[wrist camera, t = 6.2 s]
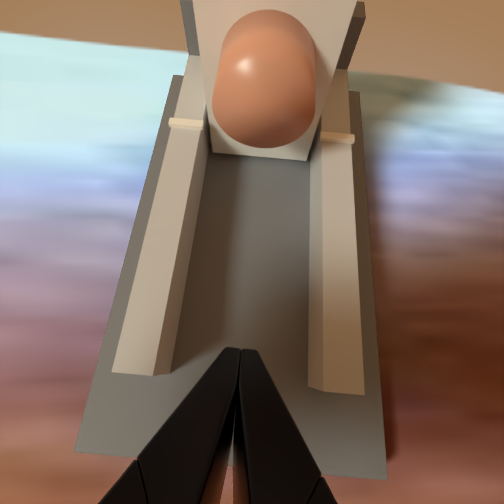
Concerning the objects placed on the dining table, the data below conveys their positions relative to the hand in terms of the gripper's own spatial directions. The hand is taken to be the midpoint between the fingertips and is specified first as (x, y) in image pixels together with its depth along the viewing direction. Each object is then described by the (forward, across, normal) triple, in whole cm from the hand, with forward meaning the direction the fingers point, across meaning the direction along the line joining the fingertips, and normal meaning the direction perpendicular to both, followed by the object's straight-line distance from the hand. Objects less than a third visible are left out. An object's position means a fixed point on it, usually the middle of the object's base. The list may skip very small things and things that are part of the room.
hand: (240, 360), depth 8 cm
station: (+9, 0, 0) cm, 9 cm away
